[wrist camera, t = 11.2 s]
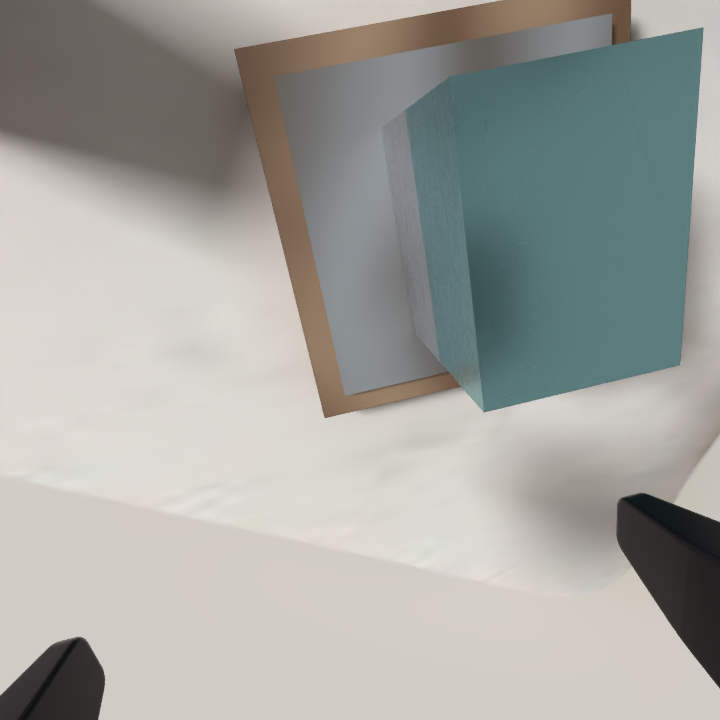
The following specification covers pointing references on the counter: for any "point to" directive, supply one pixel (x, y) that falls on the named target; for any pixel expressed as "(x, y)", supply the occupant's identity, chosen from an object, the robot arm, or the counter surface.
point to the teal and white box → (550, 217)
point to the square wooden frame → (377, 169)
